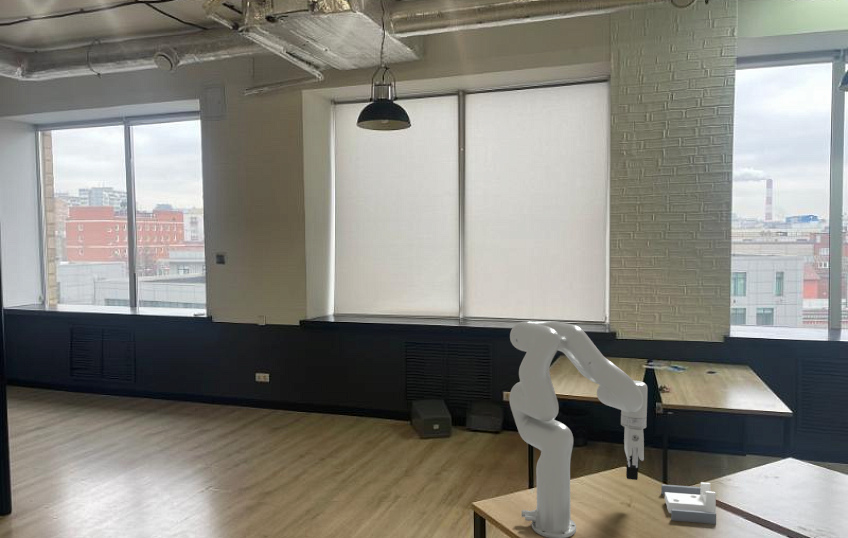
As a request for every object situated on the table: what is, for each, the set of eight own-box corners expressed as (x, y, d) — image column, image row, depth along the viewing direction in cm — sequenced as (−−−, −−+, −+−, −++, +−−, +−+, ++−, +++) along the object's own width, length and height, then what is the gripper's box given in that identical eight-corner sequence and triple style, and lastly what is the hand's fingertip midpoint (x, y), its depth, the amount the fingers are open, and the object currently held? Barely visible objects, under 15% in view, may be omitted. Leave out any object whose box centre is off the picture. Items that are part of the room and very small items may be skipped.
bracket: (709, 506, 177) (709, 482, 177) (715, 517, 171) (715, 493, 170) (664, 503, 180) (664, 479, 180) (668, 513, 174) (669, 489, 173)
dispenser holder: (671, 520, 169) (671, 510, 169) (661, 493, 187) (661, 484, 186) (716, 524, 166) (716, 514, 166) (701, 496, 184) (701, 487, 184)
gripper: (649, 429, 171) (648, 489, 172) (643, 415, 185) (641, 470, 186) (623, 426, 173) (621, 486, 173) (618, 413, 187) (617, 468, 188)
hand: (631, 478), depth 180 cm, fingers closed
